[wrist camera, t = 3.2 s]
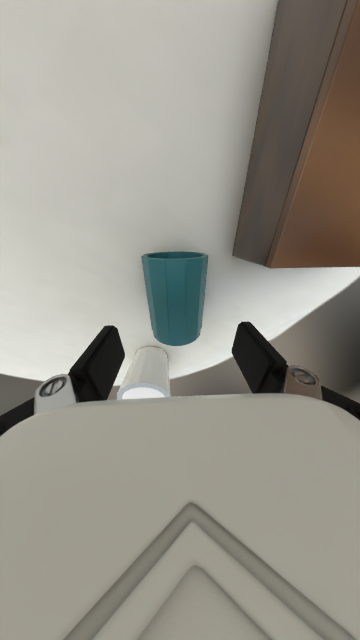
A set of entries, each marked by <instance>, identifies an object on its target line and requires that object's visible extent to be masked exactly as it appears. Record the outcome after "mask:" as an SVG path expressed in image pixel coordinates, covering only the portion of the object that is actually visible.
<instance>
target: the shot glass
mask: <svg viewBox="0 0 360 640" xmlns="http://www.w3.org/2000/svg"><path fill="white" fill-rule="evenodd" d="M160 397H170V383H169V369H168V357H167V355H166V353H165V352H164V351H163V350H162V349H160V348H157V347H152V346H147V347H143V348H141V349H139V350H138V351H137V352H136V354H135V356H134V358H133V361H132V363H131V365H130V367H129V369H128V371H127V374H126V376H125V378H124V380H123V382H122V385H121V387H120V389H119V391H118V394H117V399H118V400H120V399H140V398H160Z"/></svg>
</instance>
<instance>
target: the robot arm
mask: <svg viewBox="0 0 360 640" xmlns="http://www.w3.org/2000/svg"><path fill="white" fill-rule="evenodd" d="M232 354H233V356H234V358H235V360H236V362H237V364H238V366H239V368H240V370H241V372H242V374H243V376H244V378H245V379H246V381H247V383H248V385H249V387H250V389H251V391H252V393H253V394H230V395H206V396H185V397H184V396H182V397H160V398H140V399H120V400H107V398H108V396H109V393H110V391H111V388H112V386H113V384H114V381H115V379H116V377H117V374H118V372H119V369H120V367H121V365H122V362H123V360H124V357H125V353H124V349H123V346H122V343H121V339H120V336H119V333H118V329H117V328H116V327H114V326H104V328H103V329H102V330H101V331H100V333H99V334H98V335H97V336H96V338H95V339H94V340H93V341H92V343H91V344H90V345H89V346H88V348H87V349H86V350H85V351H84V353H83V354H82V355H81V356H80V358H79V359H78V360H77V362H76V363H75V364H74V365H73V367H72V368H71V369H70V372H69V373H68V375H67V374H60V375H56V376H54V377H51V378H50V379H48V380H46V381H45V382H44V383H43V384H41V385H40V386H39V387H38V389H37V390H36V392H35V395H34V396H35V397H34V398H32V399H30V400H28V401H27V402H25V403H23V404H21V405H19V406H17V407H16V408H14V409H12V410H10V411H8V412H7V413H5V414H3V415H1V416H0V640H360V403H358V402H355V401H353V400H351V399H349V398H347V397H344V396H343V395H340V394H338V393H336V392H334V391H332V390H330V389H328V388H325V387H323V386H321V385H320V381H319V379H318V378H317V376H316V375H314V374H313V373H312V372H311V371H309V370H307V369H305V368H303V367H300V366H296V365H291V366H288V365H287V364H286V363H287V362H286V361H285V359H284V358H283V357H282V356H281V355H280V354H279V353H278V352H277V351H276V350H275V349H274V347H272V345H271V344H270V343H269V342H268V341H267V340H266V339H265V338H264V337H263V336H262V334H261V333H260V332H259V331H258V330H257V329H256V328H255V327H254V326H253V325H252V324H251V323H250V322H241V323H240V324H239V325H238V328H237V332H236V335H235V339H234V343H233V347H232ZM104 400H105V401H104Z"/></svg>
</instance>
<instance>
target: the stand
mask: <svg viewBox="0 0 360 640" xmlns="http://www.w3.org/2000/svg"><path fill="white" fill-rule="evenodd" d="M233 256H234V257H237V258H241V259H244V260H247V261H250V262H253V263H256V264H259V265H262V266H265V267H268V268H312V267H360V0H279V2H278V7H277V13H276V18H275V24H274V29H273V35H272V40H271V46H270V51H269V57H268V63H267V68H266V74H265V79H264V85H263V90H262V96H261V101H260V107H259V112H258V118H257V123H256V129H255V134H254V140H253V145H252V151H251V156H250V162H249V167H248V173H247V179H246V184H245V190H244V195H243V201H242V206H241V212H240V217H239V223H238V228H237V234H236V239H235V245H234V250H233Z"/></svg>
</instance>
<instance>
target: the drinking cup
mask: <svg viewBox="0 0 360 640" xmlns="http://www.w3.org/2000/svg"><path fill="white" fill-rule="evenodd" d="M142 263H143V270H144V276H145V283H146V290H147V297H148V304H149V311H150V318H151V325H152V330H153V334H154V336H155V338H156V339H157V340H158V341H159V342H161V343H163V344H166V345H171V346H181V345H186V344H189V343H191V342H193V341H195V340H196V339H197V338H198V337H199V335H200V329H201V327H202V316H203V305H204V295H205V284H206V274H207V263H208V255H206V254H204V253H196V252H159V253H150V254H145V255H143V256H142Z"/></svg>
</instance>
